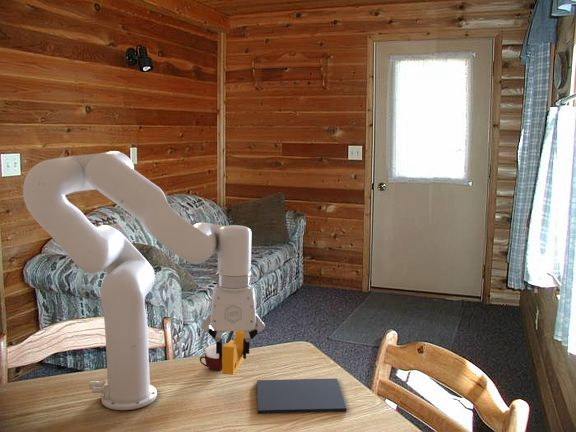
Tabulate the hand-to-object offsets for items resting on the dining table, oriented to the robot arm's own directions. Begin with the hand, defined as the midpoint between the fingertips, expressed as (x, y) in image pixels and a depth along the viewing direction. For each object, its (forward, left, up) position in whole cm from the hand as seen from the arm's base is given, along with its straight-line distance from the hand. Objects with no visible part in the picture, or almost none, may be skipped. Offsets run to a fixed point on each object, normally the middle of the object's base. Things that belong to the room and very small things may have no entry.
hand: (232, 355), depth 143 cm
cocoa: (-4, +19, -11) cm, 22 cm away
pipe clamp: (0, 0, -2) cm, 2 cm away
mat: (+16, +1, -11) cm, 19 cm away
